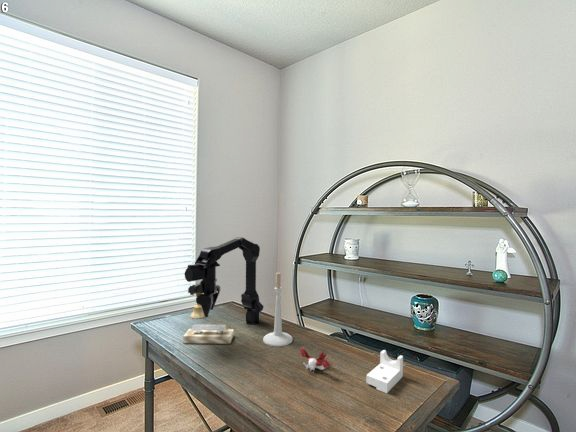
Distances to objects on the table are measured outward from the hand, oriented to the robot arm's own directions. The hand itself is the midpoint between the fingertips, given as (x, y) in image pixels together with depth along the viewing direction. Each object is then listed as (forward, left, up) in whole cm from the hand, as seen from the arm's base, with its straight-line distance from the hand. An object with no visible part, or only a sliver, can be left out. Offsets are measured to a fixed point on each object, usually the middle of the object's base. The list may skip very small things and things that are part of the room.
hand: (208, 313), depth 140 cm
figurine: (-45, +24, -12) cm, 52 cm away
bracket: (-67, +31, -12) cm, 75 cm away
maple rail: (0, 0, -12) cm, 12 cm away
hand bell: (+13, -29, -12) cm, 34 cm away
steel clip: (0, 0, -12) cm, 12 cm away
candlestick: (-30, 0, -12) cm, 32 cm away
